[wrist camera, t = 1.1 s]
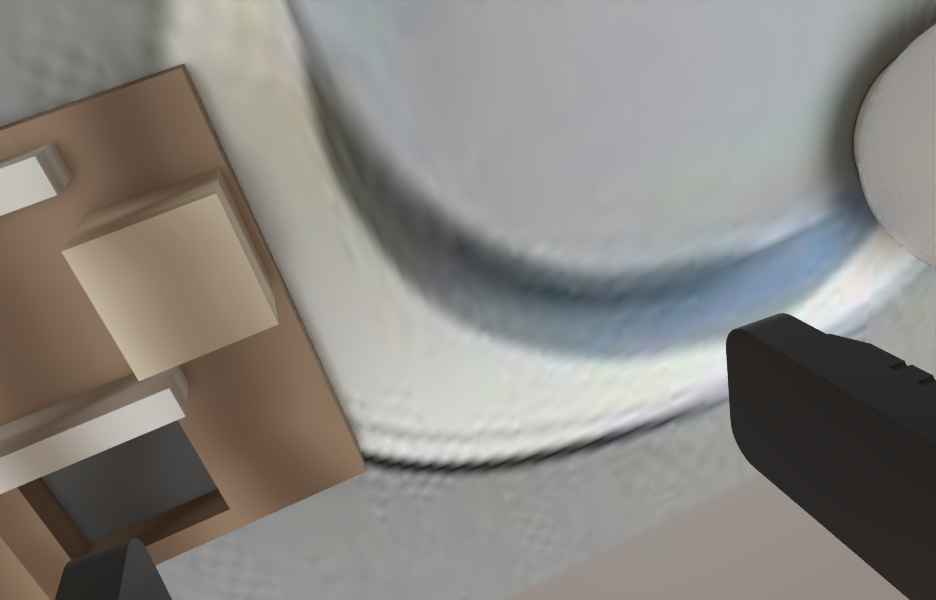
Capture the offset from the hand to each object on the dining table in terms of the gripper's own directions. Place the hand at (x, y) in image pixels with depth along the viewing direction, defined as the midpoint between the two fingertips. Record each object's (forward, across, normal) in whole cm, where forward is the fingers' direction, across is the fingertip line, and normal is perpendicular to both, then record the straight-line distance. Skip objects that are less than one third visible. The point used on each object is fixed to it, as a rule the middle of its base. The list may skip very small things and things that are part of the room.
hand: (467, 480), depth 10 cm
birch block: (+18, +5, +1) cm, 19 cm away
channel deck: (+20, +11, +4) cm, 23 cm away
